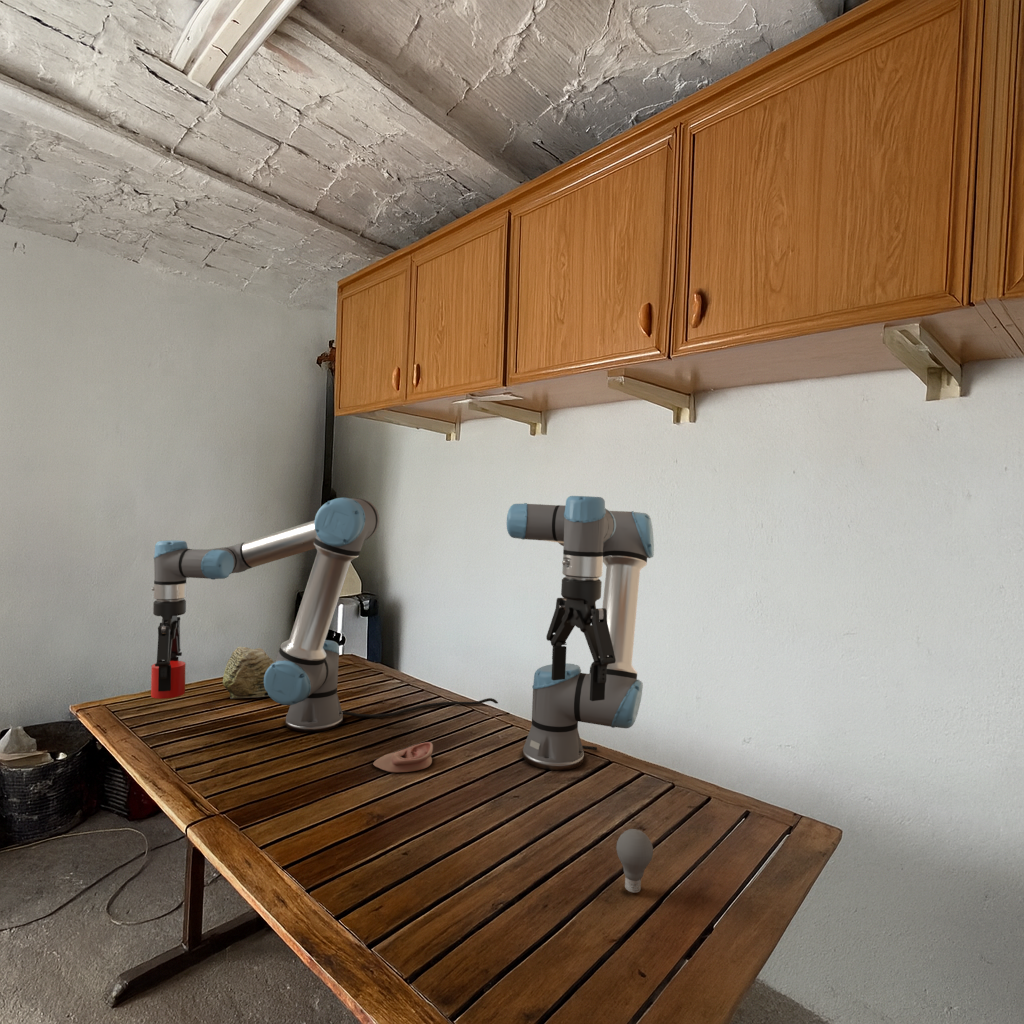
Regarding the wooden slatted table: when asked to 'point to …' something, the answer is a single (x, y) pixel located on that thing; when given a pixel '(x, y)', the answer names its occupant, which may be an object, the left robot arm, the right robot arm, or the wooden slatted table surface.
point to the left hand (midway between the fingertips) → (168, 685)
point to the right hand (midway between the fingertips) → (576, 689)
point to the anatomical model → (407, 759)
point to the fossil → (246, 673)
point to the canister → (176, 681)
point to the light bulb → (634, 857)
